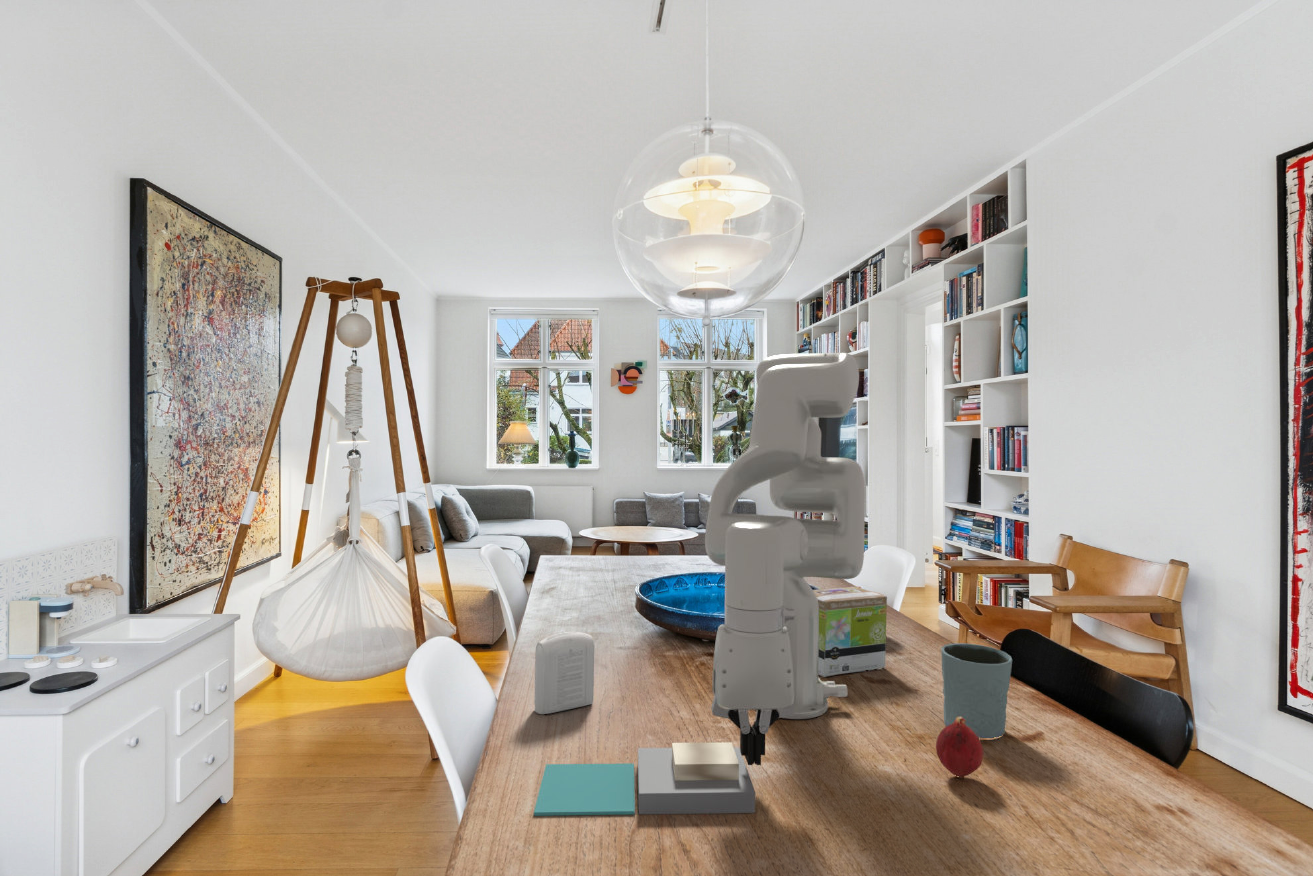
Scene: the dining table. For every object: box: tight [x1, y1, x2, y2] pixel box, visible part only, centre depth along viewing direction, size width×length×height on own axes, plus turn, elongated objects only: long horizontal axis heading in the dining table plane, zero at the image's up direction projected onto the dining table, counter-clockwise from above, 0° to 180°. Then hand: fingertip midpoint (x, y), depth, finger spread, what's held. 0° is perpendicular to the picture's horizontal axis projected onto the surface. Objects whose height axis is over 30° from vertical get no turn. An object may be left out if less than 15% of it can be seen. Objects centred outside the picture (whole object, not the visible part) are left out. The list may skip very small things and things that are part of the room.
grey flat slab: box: [637, 746, 756, 815], centre depth 88 cm, size 14×12×2 cm
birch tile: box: [671, 741, 739, 780], centre depth 88 cm, size 8×6×2 cm
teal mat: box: [533, 762, 636, 817], centre depth 87 cm, size 12×12×1 cm
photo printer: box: [533, 631, 595, 715], centre depth 114 cm, size 10×4×12 cm, turn 123°
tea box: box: [812, 586, 888, 678], centre depth 136 cm, size 15×10×15 cm, turn 114°
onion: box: [935, 716, 984, 778], centre depth 91 cm, size 6×6×8 cm
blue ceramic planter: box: [940, 642, 1013, 738], centre depth 107 cm, size 10×10×12 cm
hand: (752, 760), depth 88 cm, fingers closed
